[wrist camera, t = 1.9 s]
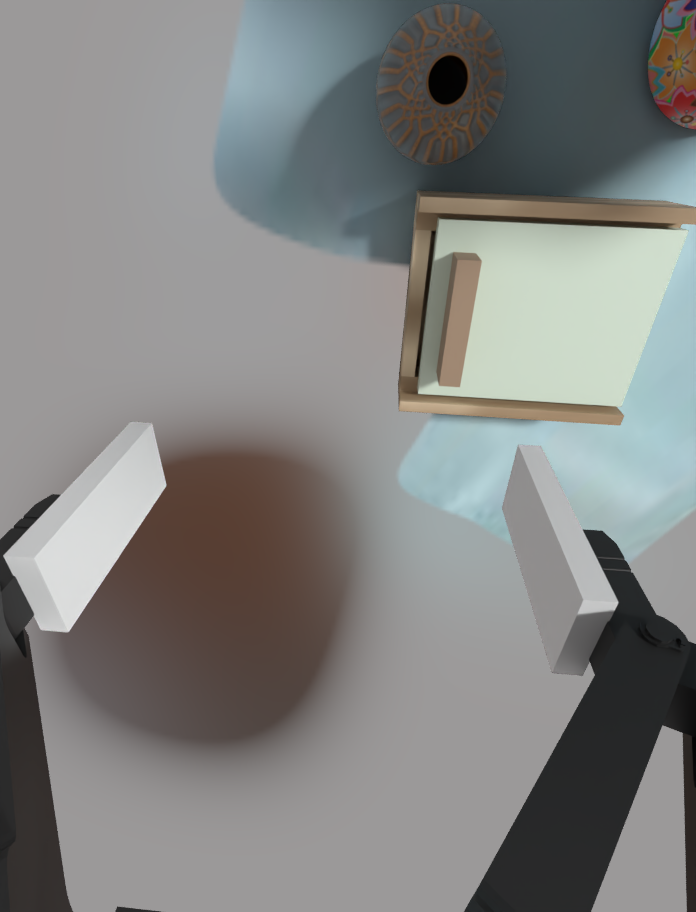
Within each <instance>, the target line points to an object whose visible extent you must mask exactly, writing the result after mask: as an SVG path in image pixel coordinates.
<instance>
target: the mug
mask: <svg viewBox="0 0 696 912" xmlns="http://www.w3.org/2000/svg"><path fill="white" fill-rule="evenodd" d="M648 79H649V85H650V89H651V92H652V95H653V98H654V100H655V102H656V104H657V106H658V107H659V109H660V110H661V111H662V112H663V114H664V115H665V116H666V117H668V118H669V119H670V120H671V121H673V122H675V123H676V124H678V125H680V126H683V127H686V128H690V129H696V0H667V1H666V3H665V5H664V7H663V9H662V11H661V13H660V15H659V18H658V20H657V23H656V25H655V28H654V31H653V35H652V39H651V43H650V48H649V56H648Z"/></svg>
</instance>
